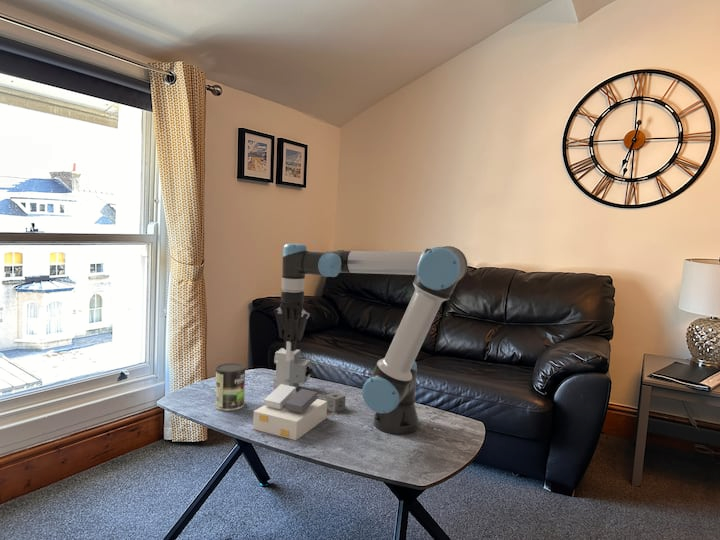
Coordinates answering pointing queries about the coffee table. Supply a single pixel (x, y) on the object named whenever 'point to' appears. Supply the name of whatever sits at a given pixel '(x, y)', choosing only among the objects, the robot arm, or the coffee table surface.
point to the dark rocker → (301, 401)
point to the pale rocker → (280, 396)
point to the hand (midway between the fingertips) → (289, 359)
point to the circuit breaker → (291, 369)
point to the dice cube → (335, 402)
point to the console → (289, 420)
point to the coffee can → (230, 386)
